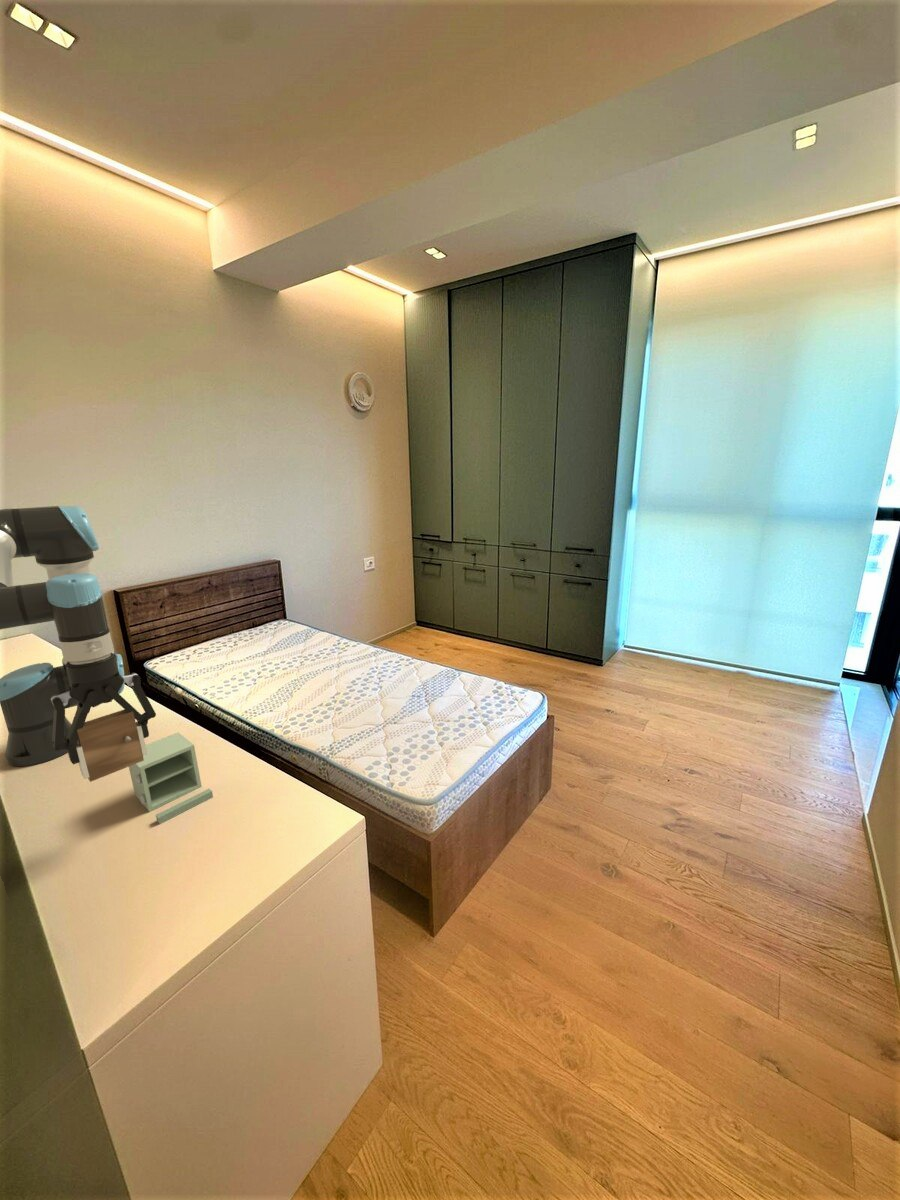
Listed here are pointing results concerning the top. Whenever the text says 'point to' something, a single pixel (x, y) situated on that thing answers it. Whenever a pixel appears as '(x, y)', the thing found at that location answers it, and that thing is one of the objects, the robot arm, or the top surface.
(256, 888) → the top surface
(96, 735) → the brown boxy piece
